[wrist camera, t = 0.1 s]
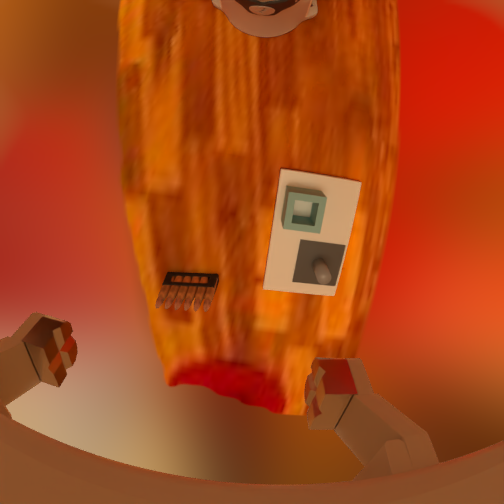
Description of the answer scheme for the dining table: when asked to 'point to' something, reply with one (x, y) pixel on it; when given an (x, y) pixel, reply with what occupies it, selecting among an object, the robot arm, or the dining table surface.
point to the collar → (301, 222)
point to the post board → (311, 236)
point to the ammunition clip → (188, 289)
